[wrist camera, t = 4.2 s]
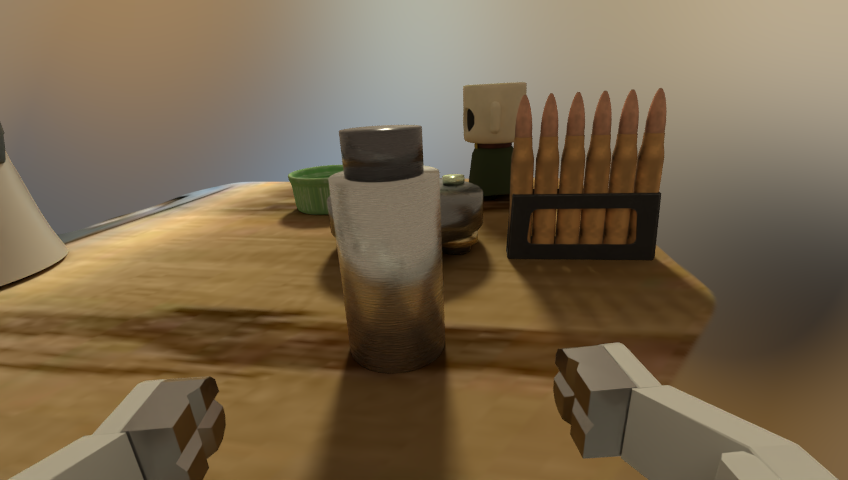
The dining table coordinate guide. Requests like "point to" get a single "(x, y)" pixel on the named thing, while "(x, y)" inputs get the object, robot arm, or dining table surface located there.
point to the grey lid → (453, 214)
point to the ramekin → (313, 188)
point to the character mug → (491, 133)
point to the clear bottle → (389, 248)
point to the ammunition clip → (587, 184)
